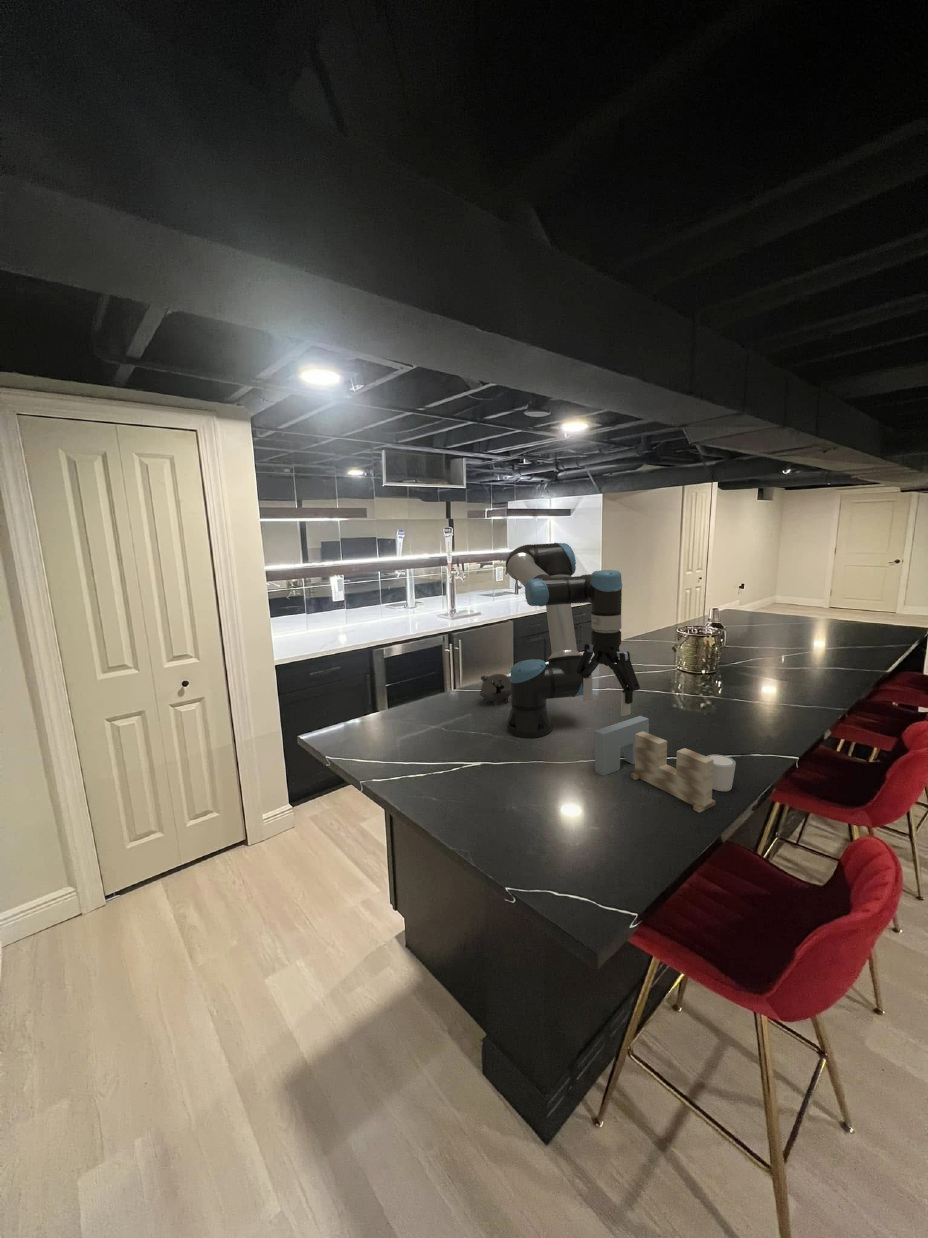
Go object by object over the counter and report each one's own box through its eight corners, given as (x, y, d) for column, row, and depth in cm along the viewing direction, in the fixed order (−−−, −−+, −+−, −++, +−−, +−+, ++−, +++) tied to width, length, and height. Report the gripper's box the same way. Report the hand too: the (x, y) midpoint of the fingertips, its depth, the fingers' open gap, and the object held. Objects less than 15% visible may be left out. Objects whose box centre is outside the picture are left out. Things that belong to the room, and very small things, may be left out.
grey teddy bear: (473, 703, 191) (472, 675, 189) (504, 695, 198) (503, 668, 196) (489, 711, 181) (487, 682, 179) (520, 702, 189) (519, 674, 187)
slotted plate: (603, 776, 130) (603, 734, 128) (595, 771, 132) (595, 730, 130) (648, 758, 138) (648, 718, 136) (639, 754, 141) (640, 715, 139)
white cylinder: (707, 776, 127) (708, 751, 126) (737, 783, 123) (738, 758, 121) (701, 787, 122) (702, 761, 120) (731, 795, 117) (732, 769, 116)
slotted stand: (630, 777, 128) (631, 735, 126) (646, 771, 131) (646, 729, 129) (699, 812, 111) (701, 764, 109) (715, 804, 114) (717, 757, 112)
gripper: (563, 625, 134) (564, 697, 138) (634, 640, 112) (632, 725, 116) (583, 621, 138) (583, 692, 141) (655, 635, 116) (653, 718, 120)
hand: (605, 707), depth 129 cm, fingers open, 13 cm apart
